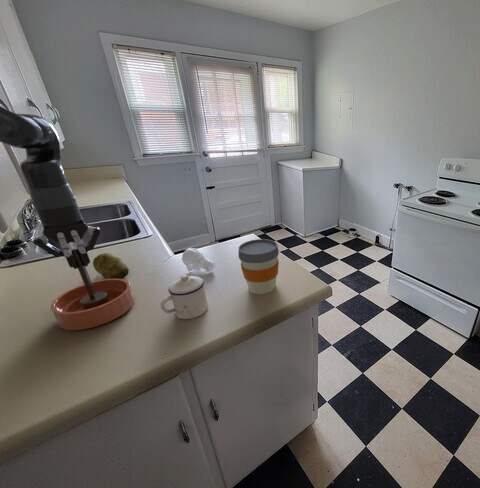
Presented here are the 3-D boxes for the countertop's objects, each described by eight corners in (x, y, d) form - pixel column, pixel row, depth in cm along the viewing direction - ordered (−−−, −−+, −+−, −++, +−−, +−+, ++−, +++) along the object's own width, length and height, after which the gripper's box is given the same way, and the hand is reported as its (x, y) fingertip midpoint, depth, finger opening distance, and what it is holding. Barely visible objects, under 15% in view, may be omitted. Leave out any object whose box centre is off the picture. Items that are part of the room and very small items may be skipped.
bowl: (40, 331, 71) (30, 312, 69) (96, 293, 87) (90, 277, 85) (103, 333, 70) (96, 315, 68) (148, 295, 86) (143, 279, 84)
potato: (104, 287, 91) (96, 266, 88) (95, 274, 99) (88, 254, 96) (132, 277, 97) (126, 257, 94) (122, 266, 105) (116, 247, 101)
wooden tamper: (79, 314, 74) (54, 255, 67) (89, 302, 80) (66, 246, 73) (105, 310, 76) (83, 252, 69) (113, 298, 81) (93, 243, 74)
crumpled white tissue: (191, 244, 102) (218, 250, 100) (193, 263, 106) (220, 270, 103) (178, 250, 97) (206, 257, 94) (181, 271, 100) (209, 278, 98)
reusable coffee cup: (261, 274, 99) (257, 236, 93) (288, 283, 93) (286, 243, 87) (235, 290, 89) (228, 249, 83) (264, 301, 83) (259, 258, 77)
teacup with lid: (200, 297, 85) (192, 265, 81) (214, 309, 80) (208, 275, 75) (159, 316, 77) (148, 281, 72) (172, 330, 71) (162, 293, 67)
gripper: (91, 197, 73) (110, 254, 80) (17, 205, 64) (47, 269, 71) (92, 202, 68) (113, 263, 74) (13, 212, 59) (45, 280, 66)
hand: (81, 266), depth 73 cm, fingers closed on wooden tamper, 1 cm apart
